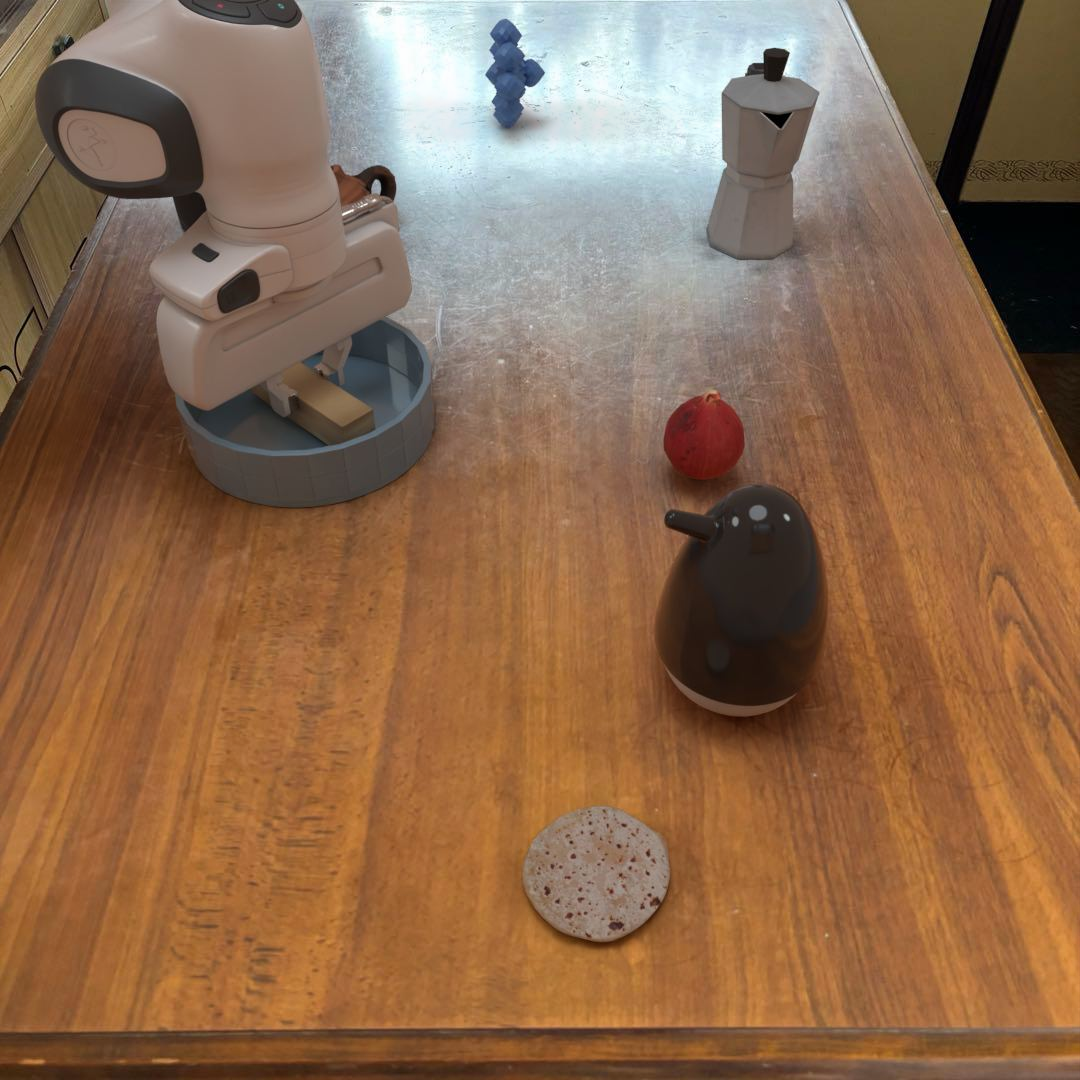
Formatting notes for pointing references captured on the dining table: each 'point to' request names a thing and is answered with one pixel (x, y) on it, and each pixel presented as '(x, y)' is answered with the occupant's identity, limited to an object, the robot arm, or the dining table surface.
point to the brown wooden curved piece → (364, 183)
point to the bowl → (303, 459)
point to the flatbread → (596, 873)
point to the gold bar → (324, 407)
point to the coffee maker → (760, 159)
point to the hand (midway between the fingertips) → (308, 398)
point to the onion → (704, 437)
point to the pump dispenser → (744, 603)
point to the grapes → (510, 73)
